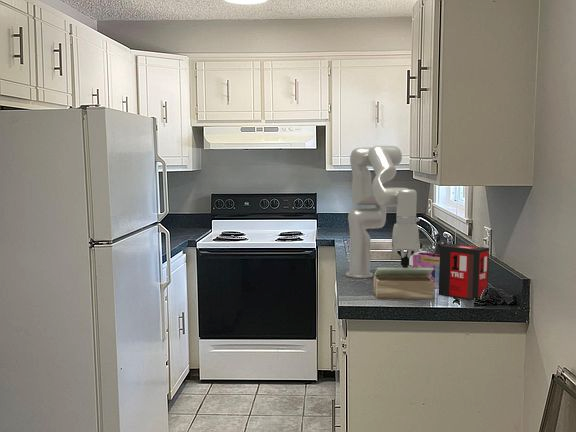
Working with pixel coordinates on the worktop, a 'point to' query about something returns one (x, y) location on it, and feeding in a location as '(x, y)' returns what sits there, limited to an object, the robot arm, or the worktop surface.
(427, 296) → the birch box
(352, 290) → the worktop surface
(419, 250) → the medicine bottle
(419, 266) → the gum box
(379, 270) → the lid
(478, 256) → the cleaning product box
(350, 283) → the worktop surface
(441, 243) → the pump dispenser
